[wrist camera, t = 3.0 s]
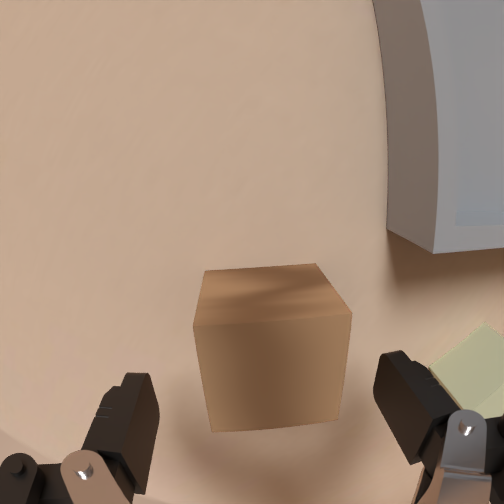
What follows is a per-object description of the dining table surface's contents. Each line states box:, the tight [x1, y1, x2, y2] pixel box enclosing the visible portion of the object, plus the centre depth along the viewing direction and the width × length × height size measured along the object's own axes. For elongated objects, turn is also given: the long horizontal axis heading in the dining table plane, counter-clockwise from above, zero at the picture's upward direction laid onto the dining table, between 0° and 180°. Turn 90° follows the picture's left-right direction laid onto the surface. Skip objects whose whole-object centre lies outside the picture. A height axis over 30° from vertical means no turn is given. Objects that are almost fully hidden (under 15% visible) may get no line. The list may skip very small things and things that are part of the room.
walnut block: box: [193, 263, 352, 432], centre depth 13 cm, size 5×5×5 cm
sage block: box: [429, 322, 504, 419], centre depth 15 cm, size 5×5×5 cm
